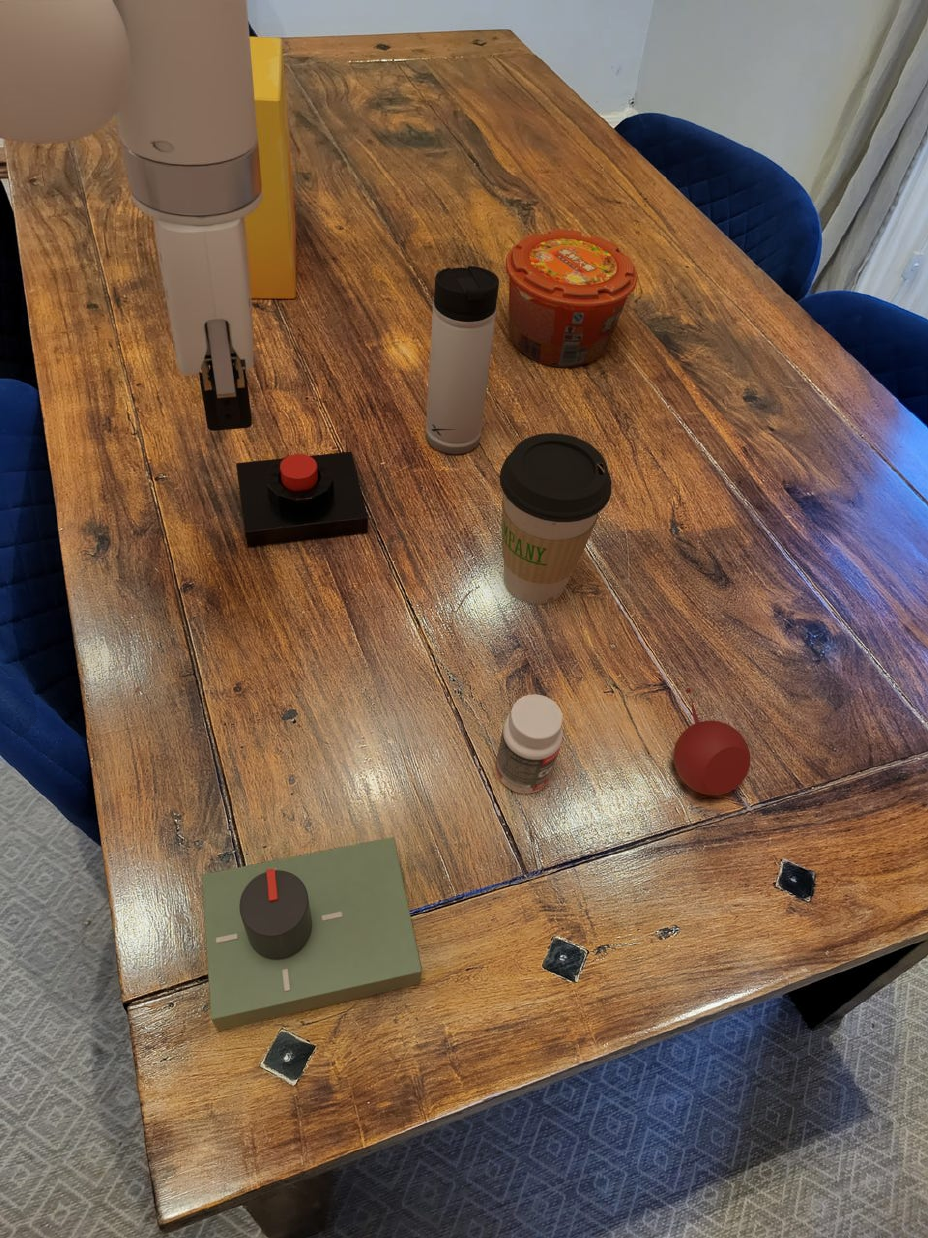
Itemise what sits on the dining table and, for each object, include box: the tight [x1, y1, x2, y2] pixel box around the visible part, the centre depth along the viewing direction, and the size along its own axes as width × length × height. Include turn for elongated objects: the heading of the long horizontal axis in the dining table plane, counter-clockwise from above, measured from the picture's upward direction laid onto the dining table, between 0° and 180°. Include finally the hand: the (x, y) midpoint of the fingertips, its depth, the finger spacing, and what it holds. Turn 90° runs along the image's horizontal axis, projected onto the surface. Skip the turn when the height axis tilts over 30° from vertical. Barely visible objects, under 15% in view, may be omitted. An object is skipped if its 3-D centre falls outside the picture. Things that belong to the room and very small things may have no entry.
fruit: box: [673, 687, 751, 796], centre depth 73 cm, size 6×6×8 cm
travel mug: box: [424, 265, 500, 455], centre depth 91 cm, size 6×7×20 cm
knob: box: [239, 869, 312, 960], centre depth 59 cm, size 4×4×5 cm
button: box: [280, 453, 318, 491], centre depth 87 cm, size 4×4×2 cm
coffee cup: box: [499, 432, 613, 605], centre depth 81 cm, size 10×10×15 cm
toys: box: [244, 36, 297, 300], centre depth 108 cm, size 18×12×24 cm
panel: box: [201, 836, 423, 1032], centre depth 62 cm, size 14×10×3 cm
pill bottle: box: [495, 693, 564, 795], centre depth 70 cm, size 5×5×8 cm
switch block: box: [235, 451, 369, 548], centre depth 89 cm, size 12×10×4 cm
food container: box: [505, 229, 639, 368], centre depth 108 cm, size 16×16×11 cm
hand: (229, 422), depth 65 cm, fingers closed
